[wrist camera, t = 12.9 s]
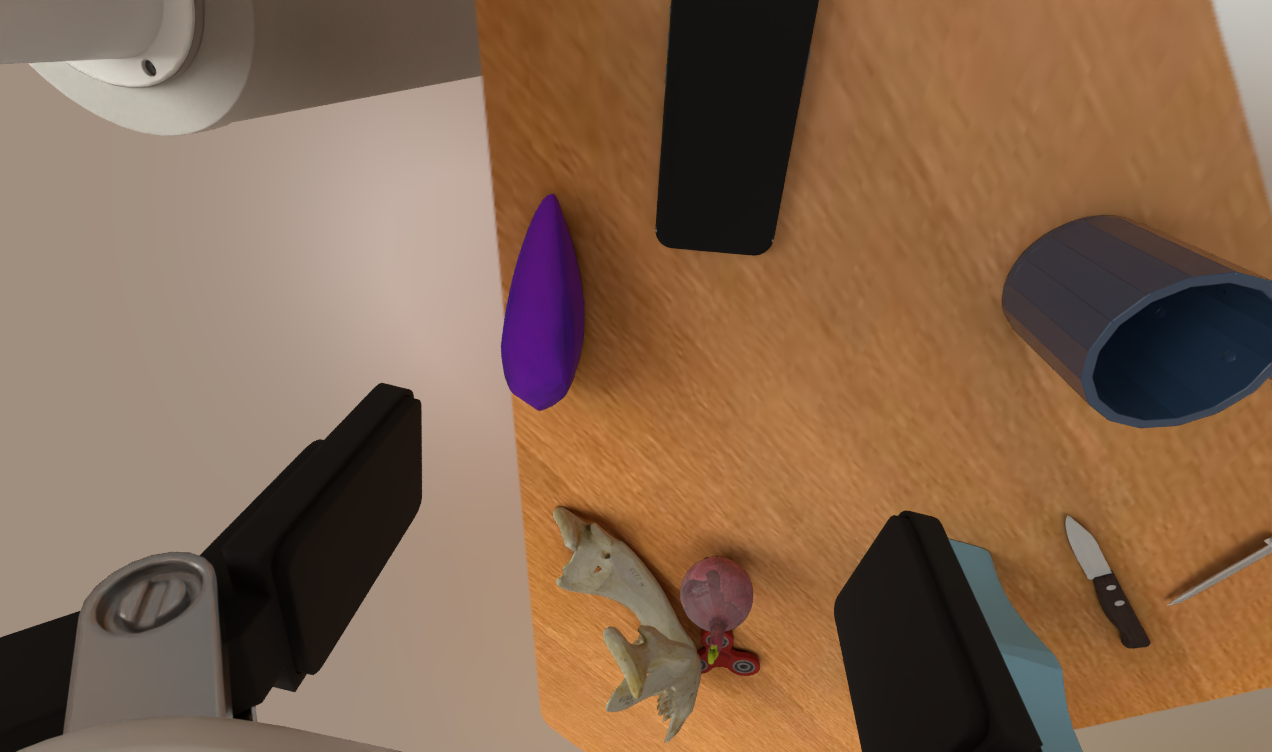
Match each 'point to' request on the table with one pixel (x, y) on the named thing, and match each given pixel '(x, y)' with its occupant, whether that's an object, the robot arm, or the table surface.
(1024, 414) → the table surface
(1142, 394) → the mug
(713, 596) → the vegetable
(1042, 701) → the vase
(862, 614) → the robot arm
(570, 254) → the purple eggplant
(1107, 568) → the kitchen knife
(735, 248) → the smartphone
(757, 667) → the fidget spinner
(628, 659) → the jawbone
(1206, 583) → the knife
